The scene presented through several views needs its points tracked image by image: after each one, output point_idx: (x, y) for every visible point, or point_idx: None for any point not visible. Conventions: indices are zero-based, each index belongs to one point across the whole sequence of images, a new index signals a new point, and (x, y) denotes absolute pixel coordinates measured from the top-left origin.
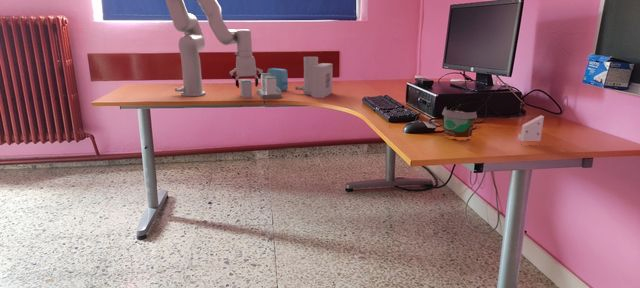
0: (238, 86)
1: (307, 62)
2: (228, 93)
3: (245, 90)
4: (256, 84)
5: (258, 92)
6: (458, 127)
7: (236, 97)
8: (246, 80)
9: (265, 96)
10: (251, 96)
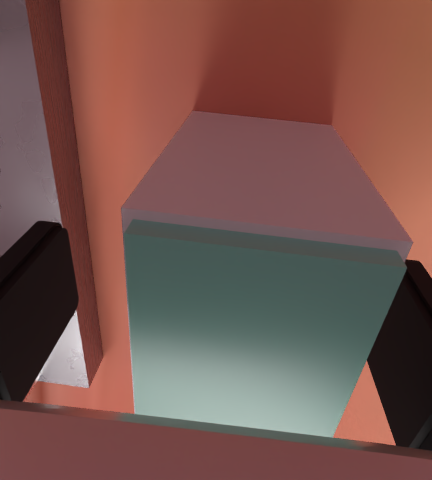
0: (411, 270)
1: None
2: (375, 402)
3: (290, 152)
4: (36, 240)
5: (82, 278)
6: None
7: (405, 165)
8: (231, 353)
9: None
10: (198, 114)
